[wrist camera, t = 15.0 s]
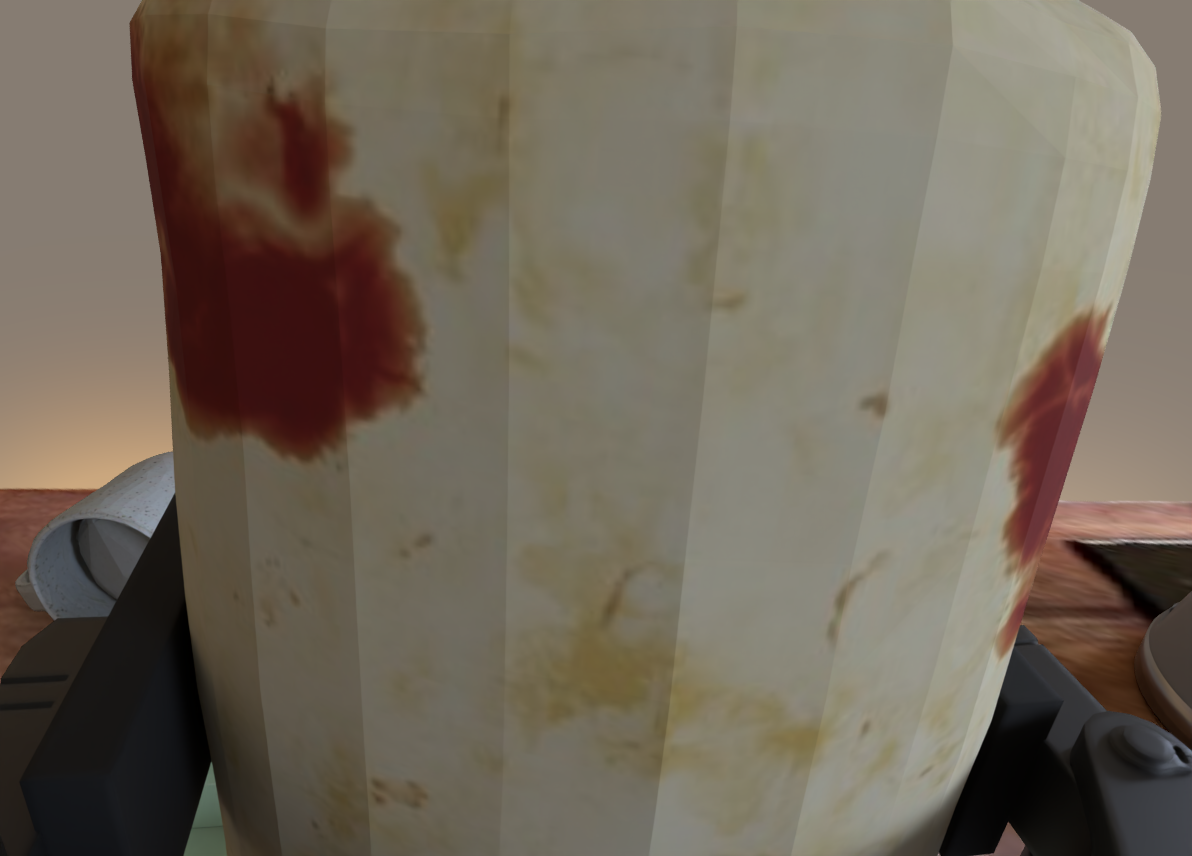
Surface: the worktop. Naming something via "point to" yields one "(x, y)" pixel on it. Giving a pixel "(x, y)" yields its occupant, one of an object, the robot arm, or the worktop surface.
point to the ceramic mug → (97, 543)
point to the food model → (624, 403)
